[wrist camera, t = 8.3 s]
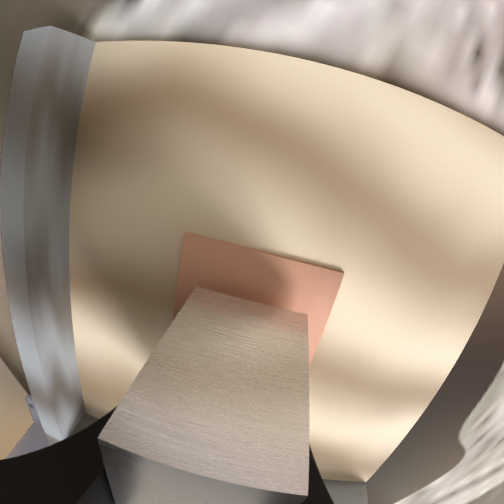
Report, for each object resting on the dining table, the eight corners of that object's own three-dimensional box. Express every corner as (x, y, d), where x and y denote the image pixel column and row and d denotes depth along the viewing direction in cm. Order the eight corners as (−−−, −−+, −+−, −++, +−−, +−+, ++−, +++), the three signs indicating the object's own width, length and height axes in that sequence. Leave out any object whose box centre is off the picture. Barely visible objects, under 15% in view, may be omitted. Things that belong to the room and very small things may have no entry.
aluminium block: (307, 314, 11) (307, 495, 5) (261, 435, 14) (238, 566, 7) (196, 286, 11) (97, 437, 5) (179, 413, 14) (126, 536, 7)
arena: (355, 483, 17) (358, 527, 14) (76, 410, 18) (50, 445, 15) (523, 153, 10) (580, 163, 6) (80, 47, 11) (24, 31, 7)
